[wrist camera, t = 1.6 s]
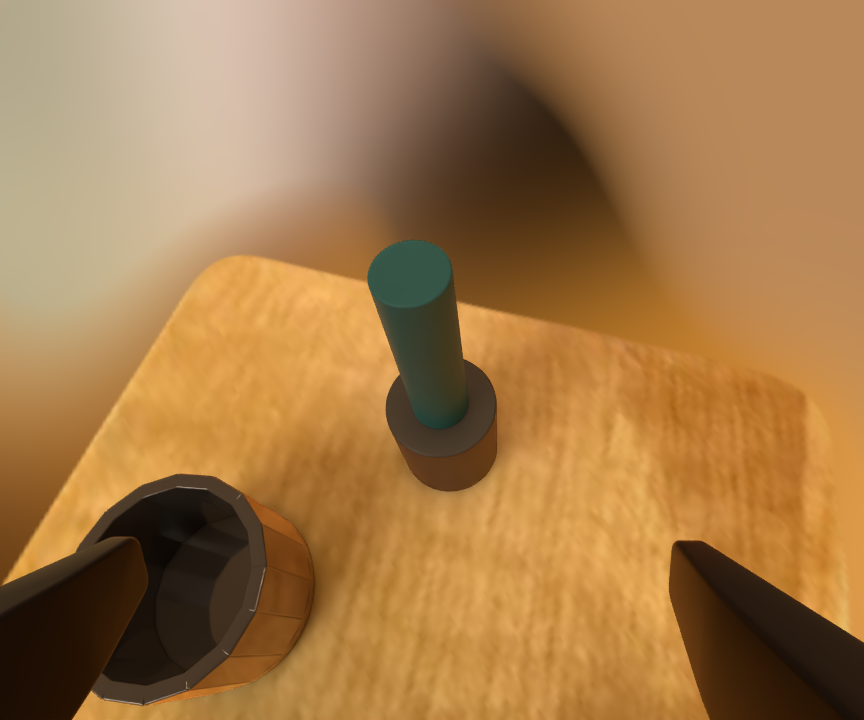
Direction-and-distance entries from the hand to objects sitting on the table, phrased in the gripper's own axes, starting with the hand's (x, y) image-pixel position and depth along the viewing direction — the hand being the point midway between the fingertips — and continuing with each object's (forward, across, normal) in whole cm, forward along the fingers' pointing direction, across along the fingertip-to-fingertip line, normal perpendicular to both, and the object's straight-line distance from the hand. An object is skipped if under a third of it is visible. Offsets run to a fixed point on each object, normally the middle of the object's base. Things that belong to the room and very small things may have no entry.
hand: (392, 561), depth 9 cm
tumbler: (+9, +9, +8) cm, 15 cm away
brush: (+13, 0, +4) cm, 14 cm away
